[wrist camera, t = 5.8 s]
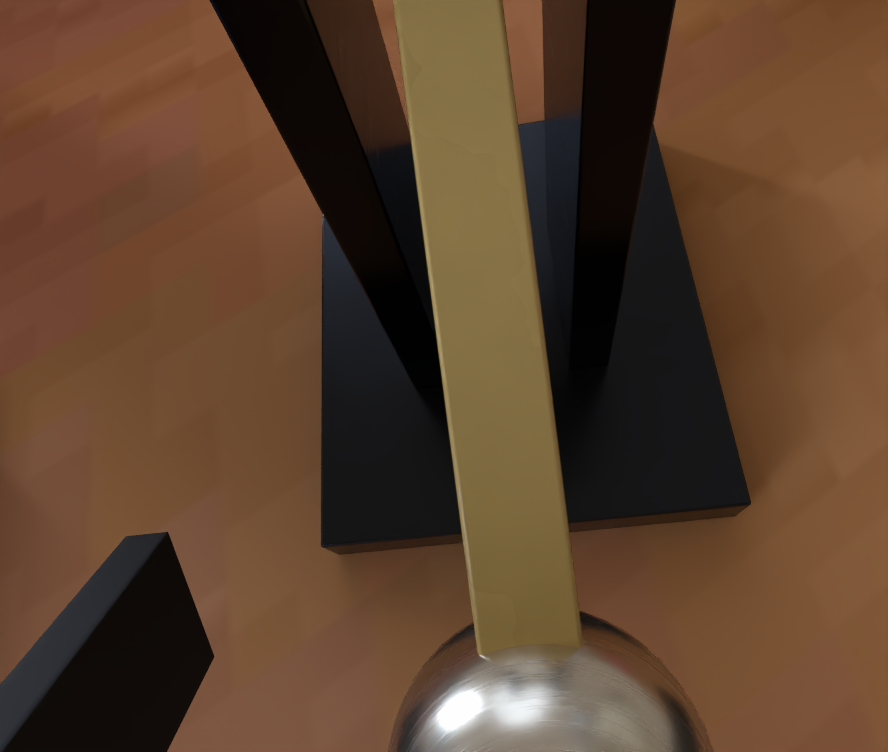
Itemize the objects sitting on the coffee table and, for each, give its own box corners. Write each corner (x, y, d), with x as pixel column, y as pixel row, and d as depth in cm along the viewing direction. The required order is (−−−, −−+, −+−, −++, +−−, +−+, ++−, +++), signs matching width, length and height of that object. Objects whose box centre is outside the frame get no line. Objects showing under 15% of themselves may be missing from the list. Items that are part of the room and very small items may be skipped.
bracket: (736, 516, 16) (1748, -246, 2) (337, 555, 17) (-485, 186, 4) (642, 135, 21) (805, -831, 7) (335, 185, 22) (-19, -568, 8)
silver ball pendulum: (691, 813, 9) (807, 1123, 5) (430, 826, 9) (376, 1121, 6) (561, -247, 9) (592, -675, 5) (296, -185, 9) (151, -540, 5)
